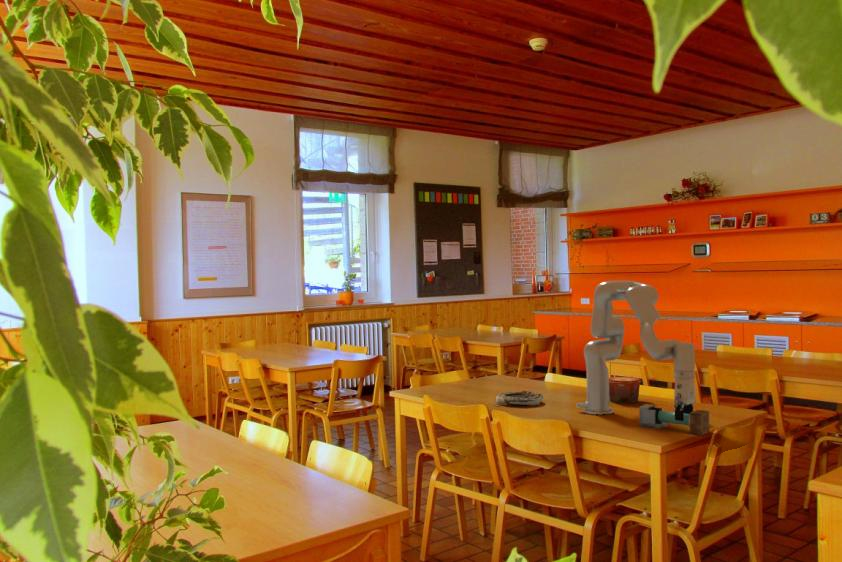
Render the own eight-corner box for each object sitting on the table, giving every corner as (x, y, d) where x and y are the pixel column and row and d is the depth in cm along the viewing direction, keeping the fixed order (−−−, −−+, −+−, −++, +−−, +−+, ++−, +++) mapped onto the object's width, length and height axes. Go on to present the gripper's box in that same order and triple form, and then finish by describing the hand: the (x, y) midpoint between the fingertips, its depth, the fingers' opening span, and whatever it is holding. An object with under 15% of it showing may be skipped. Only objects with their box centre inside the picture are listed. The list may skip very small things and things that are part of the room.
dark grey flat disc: (531, 396, 357) (531, 386, 357) (562, 406, 332) (562, 396, 332) (481, 402, 346) (481, 392, 346) (509, 412, 321) (509, 402, 321)
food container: (638, 398, 345) (638, 376, 344) (644, 404, 329) (643, 381, 329) (604, 398, 347) (604, 376, 347) (608, 404, 331) (608, 381, 331)
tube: (656, 425, 280) (656, 409, 280) (663, 422, 285) (663, 406, 285) (698, 431, 270) (697, 414, 269) (704, 428, 274) (703, 411, 274)
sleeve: (639, 426, 285) (639, 406, 284) (646, 423, 290) (646, 404, 290) (660, 429, 279) (659, 409, 279) (667, 426, 284) (666, 406, 284)
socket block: (690, 434, 271) (689, 413, 271) (698, 430, 277) (697, 409, 277) (701, 435, 268) (701, 414, 268) (709, 431, 274) (708, 411, 274)
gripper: (685, 378, 267) (685, 423, 267) (702, 372, 280) (701, 415, 280) (665, 376, 272) (665, 420, 272) (683, 370, 285) (682, 412, 285)
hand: (684, 418), depth 276 cm, fingers open, 9 cm apart
